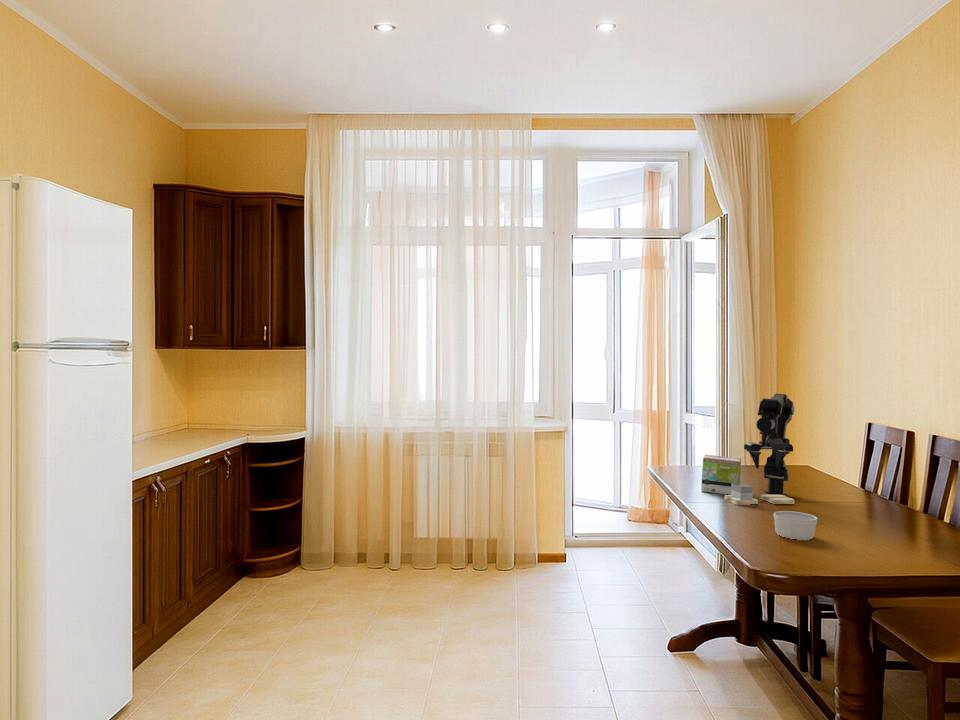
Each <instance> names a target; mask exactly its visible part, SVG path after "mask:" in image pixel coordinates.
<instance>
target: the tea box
mask: <svg viewBox="0 0 960 720" xmlns="http://www.w3.org/2000/svg"><path fill="white" fill-rule="evenodd" d="M741 467H742V458H739V457H732V456H731V457H730V456H723V455H712V454H705V455H704V456H703V458H702V469H701V471H702V472H701V473H702V474H701V485H700V487H701V488H700V490H701V493H705V492H706V493H713V494H720V495H727V494H728V495H731V483H741V469H742V468H741Z"/></svg>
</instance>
